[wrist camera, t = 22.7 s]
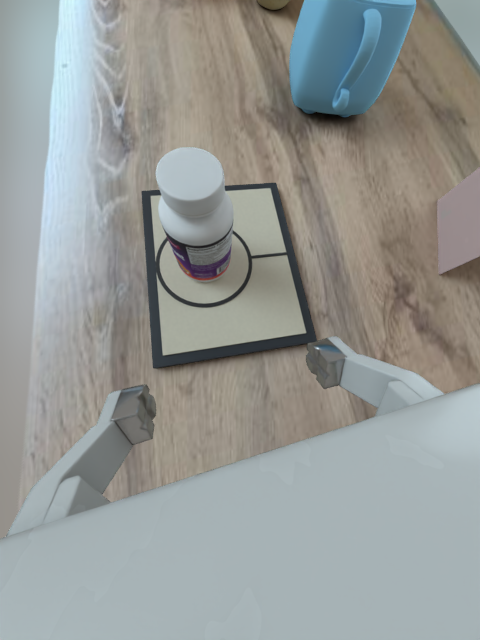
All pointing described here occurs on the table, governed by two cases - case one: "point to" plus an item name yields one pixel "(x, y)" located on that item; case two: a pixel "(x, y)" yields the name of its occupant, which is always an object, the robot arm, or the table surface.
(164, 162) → the pill bottle
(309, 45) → the teapot
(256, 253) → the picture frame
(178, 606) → the robot arm
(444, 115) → the table surface
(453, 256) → the greeting card
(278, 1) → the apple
